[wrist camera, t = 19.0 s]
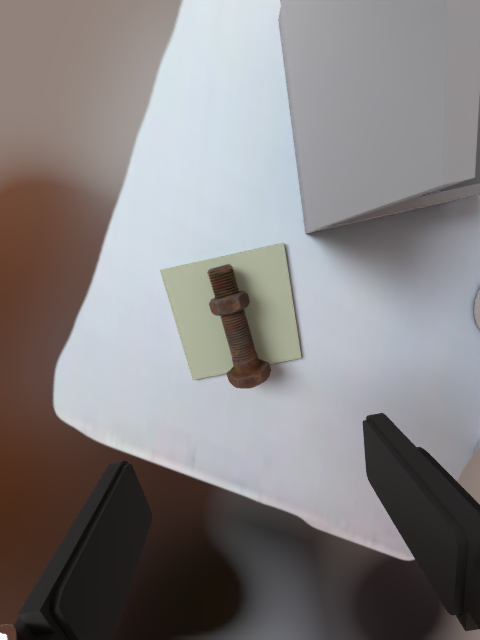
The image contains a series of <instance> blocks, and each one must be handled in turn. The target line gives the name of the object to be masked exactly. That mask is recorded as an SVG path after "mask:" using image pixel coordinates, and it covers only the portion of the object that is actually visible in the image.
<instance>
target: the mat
mask: <svg viewBox="0 0 480 640" xmlns="http://www.w3.org/2000/svg"><path fill="white" fill-rule="evenodd" d="M227 264H230V265H231V266H232V267H233V270H234V271H233V272H234V275H236V276H235V277H234V278H236V281H237V282H236V283H237V286H238V289H239V290H238V291H245V292H246V293H248V296H249V300H250V303H249V305H248V307H246V308H245V309H244V310H245V311H244V312H245V315H246V317H247V320H248V321H247V322H248V325H249V328H250V332H251V337H252V340H253V344H254V347H255V351H256V353H257V355H258V359H261V360H264V361H266V362H269V364H274V363H279V362H284V361H289V360H294V359H299V358H301V352H300V345H299V339H298V332H297V326H296V319H295V312H294V306H293V299H292V293H291V286H290V280H289V273H288V266H287V260H286V253H285V247H284V243H281V244H276V245H272V246H267V247H263V248H258V249H254V250H249V251H244V252H240V253H235V254H231V255H226V256H222V257H217V258H213V259H208V260H204V261H199V262H195V263H190V264H186V265H181V266H177V267H172V268H167V269H163V270H160V272H161V275H162V279H163V282H164V285H165V289H166V292H167V295H168V299H169V302H170V305H171V309H172V312H173V315H174V319H175V322H176V325H177V329H178V332H179V335H180V339H181V342H182V345H183V349H184V352H185V355H186V359H187V362H188V365H189V369H190V372H191V375H192V379H193V380H196V379H201V378H206V377H211V376H216V375H221V374H225V373H227V372H228V371H229V370H230V369H231V368H232V367H233V366H234V365H233V362H232V356H231V353H230V352H231V351H230V349H229V345H228V341H227V339H226V336H225V335H226V334H225V331H224V330H225V329H223V326H222V325H223V324H222V321H221V320H222V319H221V316H216V315H214V314H213V313H212V312H211V310H210V306H209V302H210V301H211V299H213V298H214V297H215V295H214V292H213V291H214V290H212V288H213V287H211V286H212V285H211V284H210V283H211V282H210V280H211V279H209V276H208V275H209V274H208V273H207V272H208V270H209V269H212V268H215V267H219V266H223V265H227Z"/></svg>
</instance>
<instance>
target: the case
mask: <svg viewBox="0 0 480 640" xmlns="http://www.w3.org/2000/svg"><path fill="white" fill-rule="evenodd" d="M280 1H281V9H280V15H279V28H280V36H281V43H282V51H283V59H284V67H285V75H286V83H287V91H288V99H289V107H290V115H291V122H292V130H293V138H294V146H295V154H296V162H297V170H298V178H299V186H300V193H301V201H302V209H303V217H304V225H305V233H306V234H307V233H312V232H316V231H321V230H325V229H330V228H334V227H339V226H343V225H348V224H352V223H357V222H361V221H366V220H370V219H375V218H379V217H384V216H389V215H393V214H398V213H402V212H407V211H411V210H416V209H420V208H425V207H429V206H434V205H438V204H443V203H447V202H451V201H455V200H459V199H463V198H467V197H471V196H475V195H478V194H480V0H280ZM439 189H441V192H438V193H433V194H429V195H424V194H427V193H430V192H433V191H436V190H439ZM421 195H424V196H421ZM418 196H420V197H418Z"/></svg>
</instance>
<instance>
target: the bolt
mask: <svg viewBox="0 0 480 640" xmlns="http://www.w3.org/2000/svg"><path fill="white" fill-rule="evenodd" d="M233 271H234V270H233V267H232V266H231V265H230V264H227V265H223V266H219V267H215V268H212V269H209V270H208V272H207V273H208V274H209V275H208V276H209V279H211V280H210V282H211V283H210V284H211V285H212V286H211V287H213V288H212V290H214V291H213V292H214V295H215V297H214V298H213V299H211V301H210V302H209V306H210V310H211V312H212V313H213V314H214V315H216V316H221V319H222V320H221V321H222V324H223V325H222V326H223V329H225V330H224V331H225V334H226V335H225V336H226V339H227V341H228V345H229V349H230V351H231V352H230V353H231V356H232V362H233V365H234V366H233V367H232V368H231V369H230V370H229V371H228V372H227V373H226V374H227V377H228V380H229V382H230V383H231V384H232V385H233V386H234V387H236V388H253V387H255V386H257V385H259V384H261V383H263V382H264V381H266V380H267V379H268V377H269V375H270V371H271V368H270V364H269V362H266V361H264V360H261V359H258V355H257V353H256V351H255V347H254V344H253V340H252V337H251V332H250V328H249V325H248V322H247V321H248V320H247V317H246V315H245V312H244V311H245V310H244V309H245V308H246V307H248V305H249V303H250V300H249V296H248V293H246V292H245V291H238V290H239V289H238V286H237V283H236V282H237V281H236V278H234V277H235V276H236V275H234V272H233Z"/></svg>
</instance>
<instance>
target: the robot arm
mask: <svg viewBox="0 0 480 640" xmlns="http://www.w3.org/2000/svg"><path fill="white" fill-rule="evenodd" d="M474 316H475V321H476V324H477V326H478V327H479V329H480V289H479V291H478V293H477V296H476V300H475V305H474ZM363 433H364V446H365V460H366V473H367V477H368V480H369V482H370V484H371V486H372V487H373V489H374V491H375V492H376V494H377V496H378V498H379V499H380V501H381V503H382V504H383V506H384V508H385V509H386V511H387V513H388V514H389V516H390V518H391V519H392V521H393V523H394V524H395V526H396V528H397V529H398V531H399V533H400V534H401V536H402V538H403V539H404V541H405V543H406V544H407V546H408V548H409V549H410V551H411V553H412V554H413V556H414V558H415V559H416V561H417V563H418V564H419V566H420V568H421V569H422V571H423V573H424V574H425V576H426V578H427V579H428V581H429V583H430V584H431V586H432V588H433V590H434V591H435V593H436V595H437V596H438V598H439V600H440V601H441V603H442V604H443V606H444V607H445V609H446V610H447V612H448V613H449V614H450V615H456V616H457V618H458V620H459V621H460V623H461V624H462V626H463V628H464V629H465V631H469V630H476V629H480V505H479V504H478V503H477V502H476V501H475V500H474V499H473V497H472V496H471V495H470V494H468V492H466V490H465V489H464V488H463V487H462V486H461V485H460V484H459V483H458V482H457V481H456V480H455V479H454V478H453V477H452V476H451V475H450V474H449V473H448V472H447V471H446V470H445V469H444V468H443V467H442V466H441V465H440V464H439V463H438V462H437V461H436V460H435V459H434V458H433V457H432V456H431V455H430V454H429V453H428V452H427V451H426V450H424V449H423V448H421V447H416V446H415V445H414V444H413V443H412V442H411V441H410V440H409V439H408V438H407V437H406V436H405V435H404V434H403V433H402V432H401V431H400V430H399V429H398V428H397V427H396V426H395V424H394V423H393V422H392V421H391V420H390V419H389V418H388V417H387V416H386V415H385V414H383V413H379V414H374V415H369V416H367V417H366V420H365V421H363ZM151 520H152V513H151V509H150V507H149V505H148V502H147V500H146V497H145V495H144V493H143V490H142V488H141V486H140V483H139V481H138V478H137V476H136V474H135V471H134V469H133V466H132V465H131V464H128V462H127V461H122V462H116V463H112V464H110V465H109V466H108V467H107V469H106V470H105V472H104V473H103V475H102V477H101V479H100V480H99V482H98V483H97V485H96V487H95V488H94V490H93V492H92V493H91V495H90V497H89V498H88V500H87V502H86V503H85V505H84V506H83V508H82V510H81V511H80V513H79V514H78V516H77V518H76V519H75V521H74V523H73V525H72V526H71V528H70V529H69V531H68V533H67V534H66V536H65V538H64V539H63V541H62V543H61V544H60V546H59V547H58V549H57V551H56V552H55V554H54V556H53V557H52V559H51V560H50V562H49V564H48V565H47V567H46V569H45V570H44V572H43V574H42V575H41V577H40V578H39V580H38V582H37V583H36V585H35V587H34V588H33V590H32V592H31V593H30V595H29V597H28V598H27V600H26V602H25V603H24V605H23V606H22V608H21V610H20V611H19V613H18V615H19V618H18V619H17V621H16V622H15V624H14V626H12V625H11V624H6V625H5V624H4V625H1V626H0V640H114V638H115V634H116V631H117V628H118V625H119V622H120V619H121V616H122V613H123V609H124V606H125V603H126V600H127V597H128V593H129V591H130V587H131V584H132V581H133V578H134V575H135V571H136V568H137V565H138V562H139V559H140V556H141V553H142V550H143V546H144V543H145V540H146V537H147V534H148V530H149V527H150V524H151Z"/></svg>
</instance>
